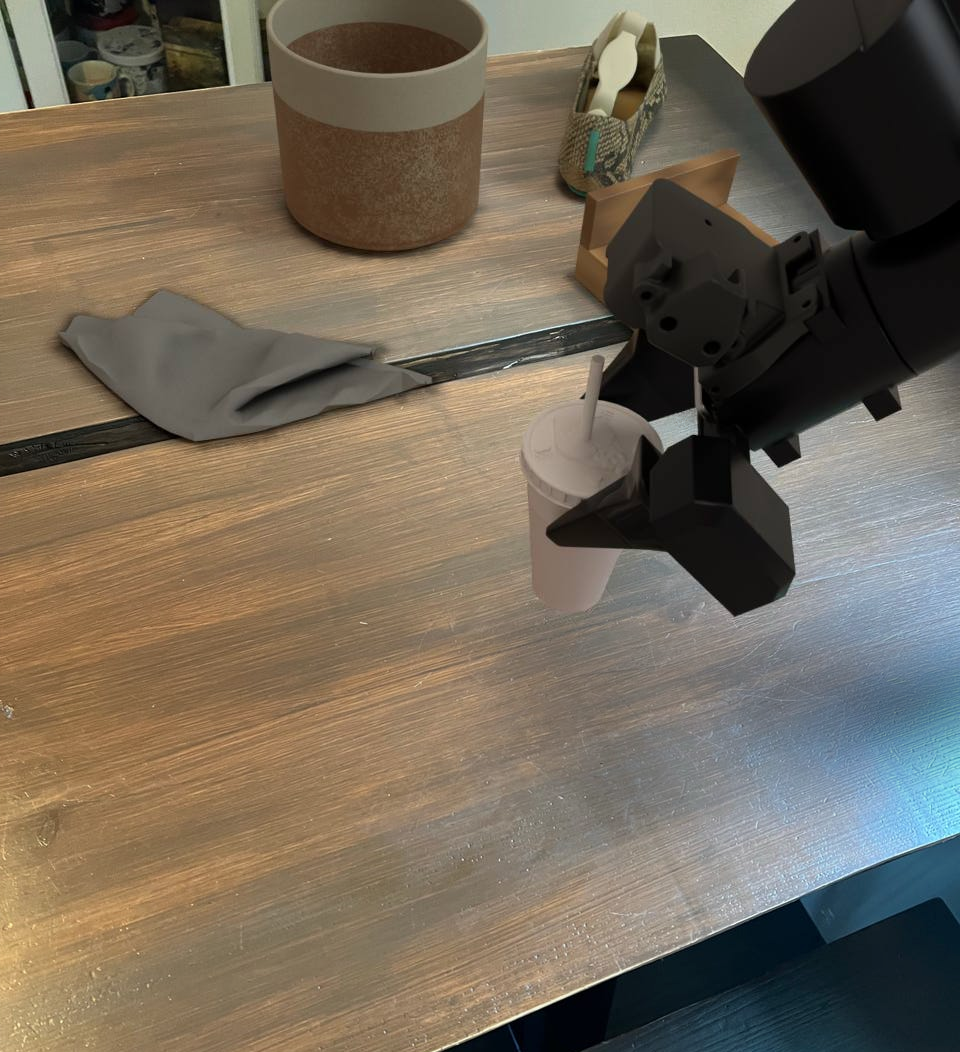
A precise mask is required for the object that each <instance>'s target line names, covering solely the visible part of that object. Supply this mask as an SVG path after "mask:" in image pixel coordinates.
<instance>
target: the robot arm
mask: <svg viewBox="0 0 960 1052" xmlns="http://www.w3.org/2000/svg"><path fill="white" fill-rule="evenodd" d="M746 63H747V64H746V67H745V70H744V73H743V74H744V75H743V86H744V88H745V90H746V91H747V93H748V95H749V96H750V98H751V99H752V101H753V102H754V104H755V106H756V107H757V108H758V110H759V111H760V113H761V115H762V116H763V117H764V119H765V121H766V123H767V124H768V125H769V127H770V128H771V130H772V132H773V134H774V135H775V136H776V138H777V139H778V141H779V142H780V144H781V145H782V147H783V148H784V150H785V152H786V153H787V154H788V156H789V157H790V159H791V161H792V162H793V164H794V165H795V167H796V168H797V170H798V171H799V173H800V175H801V176H802V178H803V180H804V181H805V182H806V184H807V185H808V186H809V189H810V190H811V191H812V193H813V195H814V196H815V198H816V199H817V201H818V202H819V204H820V205H821V207H822V209H823V210H824V211H825V213H826V214H827V217H828V218H829V219H830V220H831V222H832V224H834V226H837V227H838V228H841V229H842V230H844V231H845V230H846V231H854V233H852V234H850V235H849V236H847V237H845V238H844V239H842V240H840V241H839V242H837V243H835V244H833V245H832V246H831V245H829V243H828V242H827V240H826V239H825V237H824V236H823V234H822V233H821V230H820V229H819V228H816V229H814V230H813V231H811V232H810V233H808V232H807V231H806V230H801V231H799V232H797V233H795V234H793V235H791V236H790V237H789V238H787V239H785V240H783V241H782V242H780V244H777V245H775V246H772V247H770V246H769V245H767V244H766V243H765V242H763V241H762V240H760V239H759V238H757V237H756V236H754V235H753V234H752V233H751V232H750V231H749V230H748V229H747V228H746V227H745V226H744V225H743V224H741V223H740V222H739V221H737V220H735V219H734V218H732V217H731V216H729V215H727V214H726V213H724V212H722V211H721V210H719V209H717V208H716V207H714V206H712V205H711V204H709V203H708V202H706V201H704V200H703V199H701V198H699V197H698V196H696V195H694V194H693V193H691V192H689V191H688V190H686V189H685V188H683V187H681V186H680V185H678V184H676V183H674V182H672V181H670V180H668V179H664V178H658V179H656V180H654V182H653V183H652V184H651V186H650V187H649V189H648V190H647V191H646V193H645V194H644V196H643V197H642V198H641V200H640V201H639V203H638V204H637V205H636V207H635V208H634V210H633V211H632V212H631V214H630V215H629V216H628V218H627V219H626V221H625V222H624V223H623V225H622V226H621V228H620V229H619V230H618V232H617V233H616V235H615V236H614V237H613V239H612V240H611V242H610V243H609V244H608V246H607V248H606V254H605V255H606V258H608V267H607V281H606V284H605V286H604V289H603V298H604V302H605V305H606V306H607V307H606V306H605V305H604V306H605V307H606V308H607V311H609V312H610V314H611V315H612V316H613V317H614V318H615V319H616V320H617V321H619V322H620V323H622V324H623V325H625V326H627V327H628V328H630V327H631V328H633V329H635V330H634V331H633V333H632V335H631V337H630V338H629V340H628V341H627V342H626V344H625V345H624V346H622V349H621V350H620V351H619V352H618V354H617V355H616V356H615V357H614V359H613V360H612V361H611V362H610V363H609V365H608V366H607V367H606V368H605V369H603V374H602V379H601V385H600V390H599V396H598V400H601V401H606V402H610V403H614V404H618V405H620V406H623V407H625V408H627V409H630V410H631V411H633V412H635V413H637V414H638V415H640V416H641V417H642V418H644V419H645V420H646V421H647V422H648V423H652V422H654V421H657V420H660V419H661V420H662V419H663V418H668V417H670V416H673V415H676V414H680V413H684V412H686V411H690V410H692V409H696V415H697V416H696V417H697V418H696V419H697V421H696V422H697V434H690V435H689V436H687V437H685V438H682V439H681V440H679V441H677V442H675V443H674V444H672V445H670V446H668V447H667V448H666V449H665V450H664V453H663V454H662V453H661V452H660V451H659V450H658V449H657V448H656V447H655V446H654V445H653V444H652V443H651V442H650V441H649V440H648V439H647V438H646V437H645V436H644V435H643V434H642V435H641V436H640V438H639V440H638V444H637V448H636V452H635V456H634V460H633V464H632V467H631V470H630V471H629V472H628V473H627V474H626V475H624V476H623V477H621V478H620V479H618V480H616V481H615V482H613V483H612V484H610V485H608V486H607V487H605V488H604V489H602V490H600V491H599V492H597V493H596V494H594V495H592V496H591V497H589V498H588V499H586V500H584V501H583V502H581V503H580V504H578V505H576V506H575V507H573V508H571V509H570V510H568V511H567V512H565V513H564V514H563V515H561V516H560V517H559V518H558V519H556V520H555V521H554V522H552V523H551V524H550V525H548V526H547V528H546V536H547V537H548V538H549V539H550V540H551V541H552V542H553V543H555V544H556V545H557V546H560V547H579V548H610V549H622V550H637V551H639V550H640V551H653V552H660V553H661V552H663V553H667V554H668V555H670V556H671V557H672V558H673V560H675V562H677V564H679V566H681V567H682V569H684V570H685V571H686V572H687V573H688V574H689V575H690V576H691V577H692V578H693V579H694V580H696V582H698V583H699V585H700V586H702V588H703V589H705V590H706V591H707V592H708V593H709V594H710V595H711V596H712V597H713V598H714V599H715V600H716V601H717V602H718V603H719V604H720V605H721V606H723V607H724V609H725V610H726V611H727V612H729V614H731V615H732V616H733V617H734V618H736V617H739V616H741V615H744V614H746V613H749V612H751V611H755V610H757V609H759V608H762V607H765V606H766V605H769V604H772V603H774V602H777V601H778V600H781V599H782V598H784V597H786V595H787V593H788V592H789V590H790V587H791V586H792V583H793V581H794V578H796V577H795V576H796V575H797V573H796V562H795V553H794V542H793V533H792V525H791V524H792V523H791V514H790V507H789V506H788V505H787V503H786V502H785V501H784V500H783V499H782V497H781V496H780V495H779V494H778V493H777V492H776V491H775V490H774V489H773V488H772V486H771V485H770V484H769V483H768V481H766V479H765V478H764V477H763V475H761V473H760V472H759V471H758V470H757V469H756V468H755V467H754V465H753V464H752V460H751V451H752V452H753V453H756V452H757V451H759V450H762V451H763V452H764V453H765V454H766V455H767V457H768V458H769V459H770V460H771V462H772V463H773V464H774V465H775V467H777V468H778V469H781V468H782V467H784V466H786V465H788V464H791V463H793V462H794V461H797V460H799V459H801V458H802V453H801V443H800V436H799V435H800V434H802V433H805V432H807V431H809V430H811V429H813V428H815V427H817V426H819V425H820V424H824V423H825V422H827V421H829V420H831V419H833V418H835V417H837V416H839V415H841V414H844V413H845V412H847V411H850V410H851V409H853V408H856V407H857V406H859V405H861V404H863V405H864V407H865V408H866V409H867V410H866V411H868V413H869V414H870V415H871V416H872V418H873V420H874V421H875V422H876V423H877V422H879V421H881V420H883V419H886V418H888V417H890V416H892V415H894V414H896V413H897V412H900V411H902V410H903V407H902V403H901V398H900V397H901V396H900V391H899V388H898V386H900V385H902V384H904V383H906V382H908V381H910V380H913V379H914V378H917V377H918V376H920V375H922V374H924V373H926V372H928V371H930V370H932V369H934V368H936V367H939V366H941V365H943V364H945V363H946V362H948V361H950V360H953V359H954V358H957V357H958V356H960V0H794V1H793V2H792V3H791V4H790V5H789V6H788V7H787V8H786V9H785V10H784V11H783V12H782V13H781V14H780V15H779V16H778V18H777V19H776V20H775V21H774V22H773V24H772V25H771V26H769V28H768V29H767V30H766V32H765V33H764V34H763V36H762V38H761V39H760V41H759V42H758V43H757V45H756V46H755V48H754V49H753V51H752V53H751V55H750V57H749V59H748V61H747V62H746ZM631 328H630V329H631ZM585 394H586V391H584V393H583V394H582V395H581V397H579V399H585Z"/></svg>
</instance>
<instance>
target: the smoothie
mask: <svg viewBox="0 0 960 1052" xmlns="http://www.w3.org/2000/svg"><path fill="white" fill-rule="evenodd" d="M605 361H606V358H605V357H604V356H603V355H601V354H594V355H592V356H591V358H590V363H589V364H590V365H589V370H588V377H587V383H586V388H585V392H586V394H585V399H580V398H577V399H572V400H565V401H561V402H558V403H555V404H552V405H550V406H548V407H546V408H544V409H543V410H541V411H539V412H538V413H537V414H536V415H534V416H533V417H532V418H531V420H530V421H529V422H528V424H527V425H526V427H525V429H524V431H523V435H522V440H521V447H520V450H519V456H518V458H519V464H520V470H521V472H522V474H523V476H524V477H525V479H526V490H527V491H526V492H527V502H528V503H527V505H528V524H529V543H530V564H531V584H532V589H533V592H534V594H535V596H536V597H537V599H538V600H539V601H540V602H541V603H542V604H544V605H545V606H547V607H548V608H550V609H552V610H555V611H558V612H561V613H562V612H563V613H580V612H583V611H586V610H588V609H591V608H592V607H594V606H595V605H596V604H597V603H598V602H599V601H600V599H601V598H602V596H603V593H604V591H605V588H606V586H607V584H608V582H609V581H610V580H609V579H610V578H611V575H612V573H613V571H614V568H615V566H616V564H617V562H618V560H619V557H620V555H621V553H622V551H623V549H610V548H579V547H560V546H557V545H556V544H555V543H553V542H552V541H551V540H550V539H549V538H548V537H547V536H546V528H547V526H548V525H550V524H551V523H552V522H554V521H555V520H556V519H558V518H559V517H560V516H561V515H563V514H564V513H565V512H567V511H568V510H570V509H571V508H573V507H575V506H576V505H578V504H580V503H581V502H583V501H584V500H586V499H588V498H589V497H591V496H592V495H594V494H596V493H597V492H599V491H600V490H602V489H604V488H605V487H607V486H608V485H610V484H612V483H613V482H615V481H616V480H618V479H620V478H621V477H623V476H624V475H626V474H627V473H628V472H629V471H630V470H631V467H632V464H633V460H634V456H635V452H636V448H637V444H638V440H639V438H640V436H641V435H642V434H643V435H644V436H645V437H646V438H647V439H648V440H649V441H650V442H651V443H652V444H653V445H654V446H655V447H656V448H657V449H658V450H659V451H660V452H661V453H662V454H663V453H664V452H665V448H664V445H663V441H662V439H661V436H660V435H659V434H658V432H657V430H656V429H655V428H654V426H653V425H652V424H651V423H650V422H647V421H646V420H645V419H644V418H642V417H641V416H640V415H638V414H637V413H635V412H633V411H631V410H630V409H627V408H625V407H623V406H620V405H618V404H614V403H610V402H606V401H601V400H598V396H599V390H600V385H601V379H602V374H603V372H604V368H605Z"/></svg>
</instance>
